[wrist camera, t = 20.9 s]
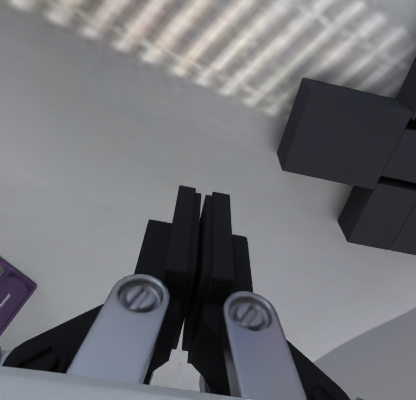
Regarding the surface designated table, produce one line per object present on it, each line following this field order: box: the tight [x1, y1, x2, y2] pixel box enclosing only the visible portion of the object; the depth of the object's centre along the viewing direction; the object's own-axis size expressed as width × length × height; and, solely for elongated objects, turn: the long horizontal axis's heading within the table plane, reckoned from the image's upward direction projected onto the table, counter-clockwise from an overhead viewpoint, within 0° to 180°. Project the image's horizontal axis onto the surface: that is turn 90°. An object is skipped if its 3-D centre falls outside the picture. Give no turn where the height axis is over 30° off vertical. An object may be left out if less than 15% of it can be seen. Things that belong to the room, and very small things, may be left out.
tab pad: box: [277, 78, 416, 189], centre depth 27 cm, size 6×10×3 cm, turn 78°
